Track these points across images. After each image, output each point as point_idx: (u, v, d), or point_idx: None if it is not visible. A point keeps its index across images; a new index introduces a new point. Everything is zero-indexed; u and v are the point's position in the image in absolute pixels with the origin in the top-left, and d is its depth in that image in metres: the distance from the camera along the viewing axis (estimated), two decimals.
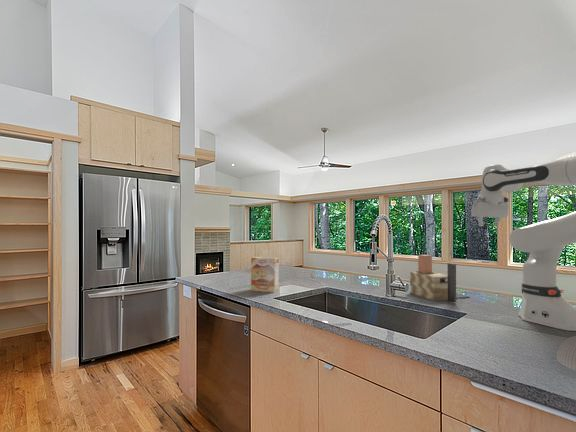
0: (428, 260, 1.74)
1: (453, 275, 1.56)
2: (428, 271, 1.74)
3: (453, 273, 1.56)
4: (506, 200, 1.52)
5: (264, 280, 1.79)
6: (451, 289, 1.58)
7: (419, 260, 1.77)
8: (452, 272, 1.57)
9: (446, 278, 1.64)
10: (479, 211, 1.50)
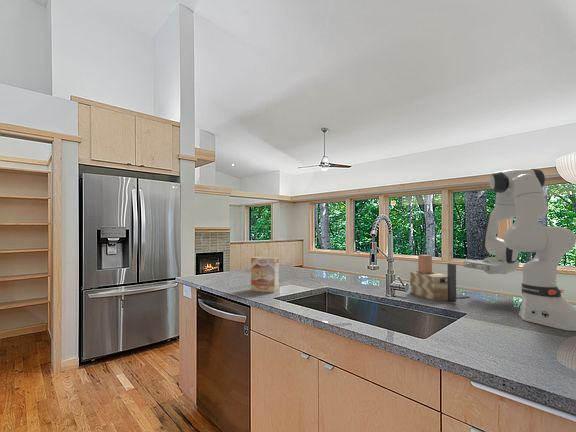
0: (428, 260, 1.74)
1: (453, 275, 1.56)
2: (428, 271, 1.74)
3: (453, 273, 1.56)
4: (501, 261, 1.60)
5: (264, 280, 1.79)
6: (451, 289, 1.58)
7: (419, 260, 1.77)
8: (452, 272, 1.57)
9: (446, 278, 1.64)
10: (468, 260, 1.73)
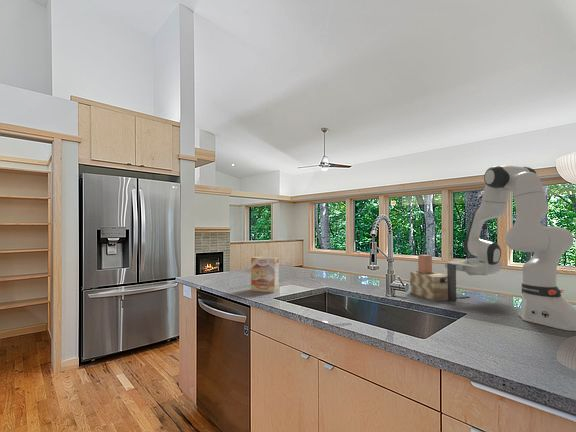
0: (428, 260, 1.74)
1: (453, 275, 1.56)
2: (428, 271, 1.74)
3: (453, 273, 1.56)
4: (482, 262, 1.56)
5: (264, 280, 1.79)
6: (451, 289, 1.58)
7: (419, 260, 1.77)
8: (451, 272, 1.57)
9: (446, 278, 1.64)
10: None
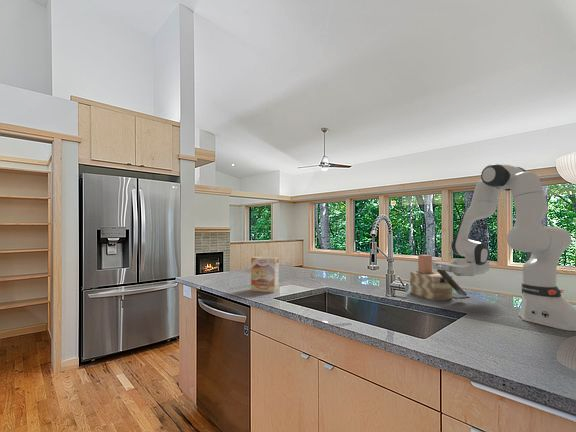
0: (428, 260, 1.74)
1: (449, 278, 1.56)
2: (428, 271, 1.74)
3: (448, 277, 1.55)
4: (469, 262, 1.54)
5: (264, 280, 1.79)
6: (455, 287, 1.58)
7: (419, 260, 1.77)
8: (446, 277, 1.56)
9: None
10: (437, 262, 1.66)
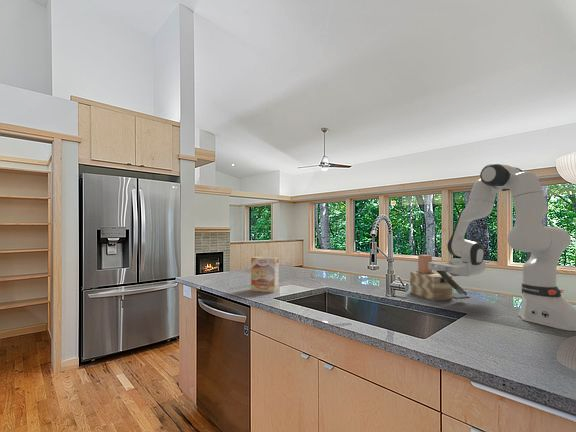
0: (428, 260, 1.74)
1: (449, 279, 1.56)
2: (428, 271, 1.74)
3: (447, 278, 1.55)
4: (465, 262, 1.53)
5: (264, 280, 1.79)
6: (455, 287, 1.58)
7: (419, 260, 1.77)
8: (446, 277, 1.56)
9: None
10: (433, 262, 1.65)
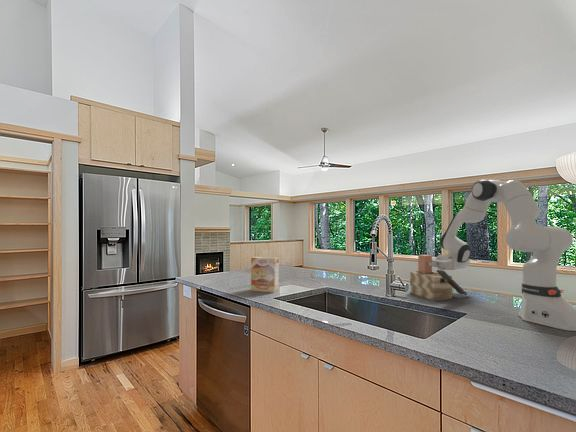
0: (428, 260, 1.74)
1: (449, 279, 1.56)
2: (428, 271, 1.74)
3: (447, 278, 1.55)
4: (451, 258, 1.74)
5: (264, 280, 1.79)
6: (455, 287, 1.58)
7: (419, 260, 1.77)
8: (446, 277, 1.56)
9: None
10: None
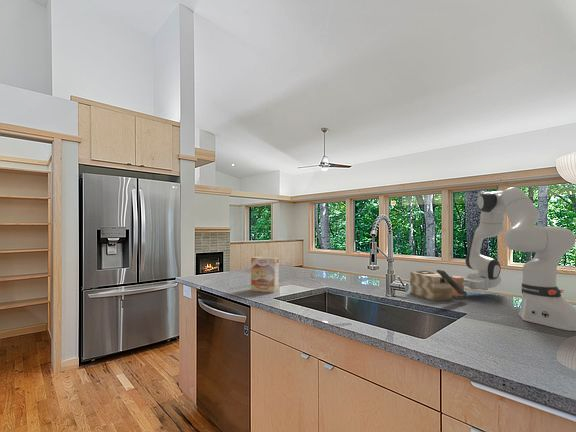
0: (460, 282, 1.69)
1: (449, 279, 1.56)
2: (460, 294, 1.69)
3: (447, 278, 1.55)
4: (483, 277, 1.69)
5: (264, 280, 1.79)
6: (455, 287, 1.58)
7: None
8: (446, 277, 1.56)
9: None
10: None
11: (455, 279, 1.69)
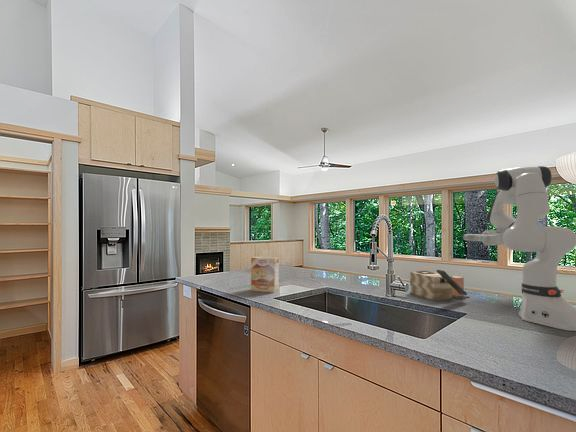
0: (460, 282, 1.69)
1: (449, 279, 1.56)
2: (460, 294, 1.69)
3: (447, 278, 1.55)
4: (499, 232, 1.73)
5: (264, 280, 1.79)
6: (455, 287, 1.58)
7: None
8: (446, 277, 1.56)
9: None
10: None
11: (455, 279, 1.69)
